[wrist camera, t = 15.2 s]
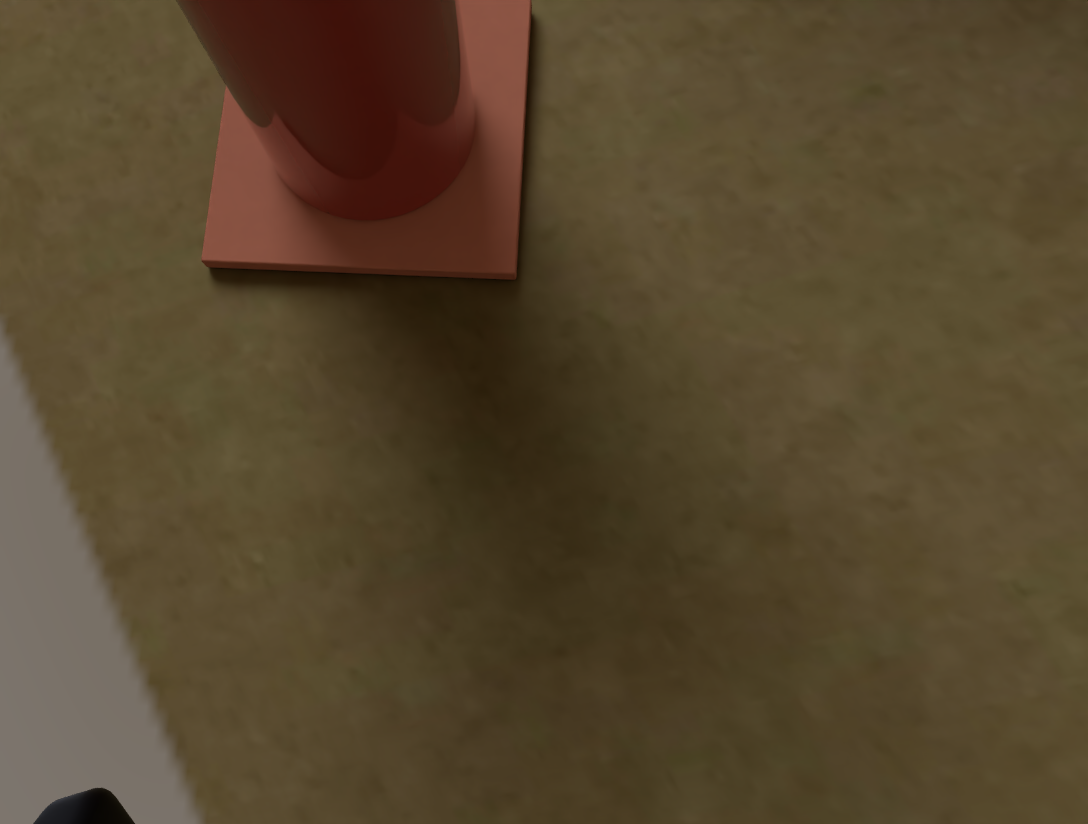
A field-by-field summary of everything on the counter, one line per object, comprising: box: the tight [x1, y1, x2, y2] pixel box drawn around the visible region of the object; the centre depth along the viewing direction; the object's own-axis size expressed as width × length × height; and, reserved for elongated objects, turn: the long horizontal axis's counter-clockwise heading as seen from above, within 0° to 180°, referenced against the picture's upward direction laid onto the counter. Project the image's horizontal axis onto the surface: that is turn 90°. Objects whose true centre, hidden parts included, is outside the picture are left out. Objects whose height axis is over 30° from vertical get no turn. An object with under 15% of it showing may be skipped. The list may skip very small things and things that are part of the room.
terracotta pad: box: [201, 0, 532, 280], centre depth 22 cm, size 7×7×1 cm
